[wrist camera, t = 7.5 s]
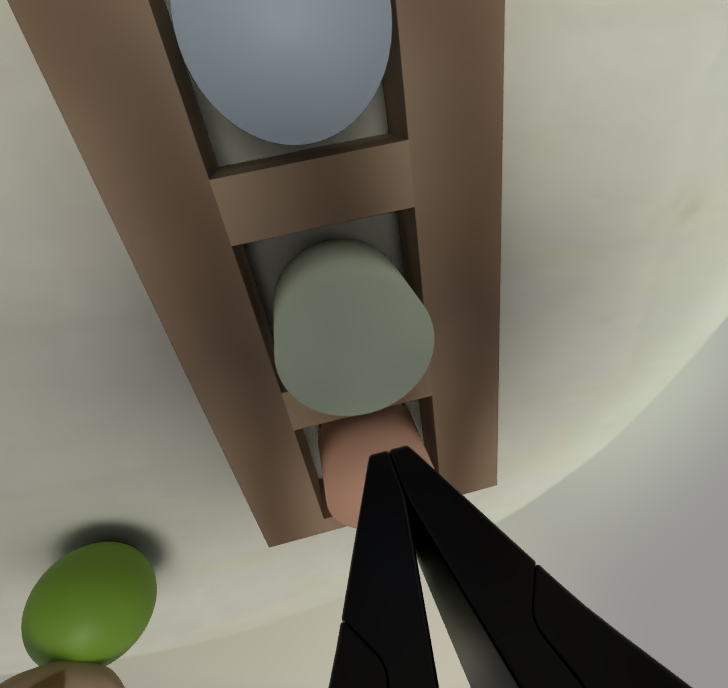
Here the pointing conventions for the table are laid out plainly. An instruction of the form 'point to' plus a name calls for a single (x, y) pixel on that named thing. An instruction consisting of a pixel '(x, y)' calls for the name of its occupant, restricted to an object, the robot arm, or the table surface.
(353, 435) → the terracotta button
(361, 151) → the wooden compartment tray
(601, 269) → the table surface
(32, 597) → the snail figurine
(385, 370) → the sage button
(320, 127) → the slate button
